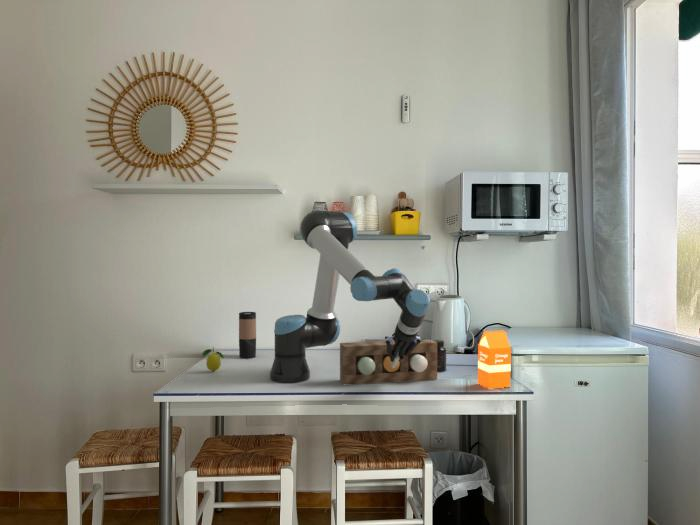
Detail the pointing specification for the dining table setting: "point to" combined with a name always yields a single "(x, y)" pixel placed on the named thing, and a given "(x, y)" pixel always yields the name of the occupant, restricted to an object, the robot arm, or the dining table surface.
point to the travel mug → (247, 335)
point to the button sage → (366, 365)
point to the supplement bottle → (441, 356)
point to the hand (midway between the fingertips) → (393, 364)
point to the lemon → (213, 359)
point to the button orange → (389, 364)
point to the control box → (376, 352)
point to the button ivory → (418, 363)
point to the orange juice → (494, 360)
